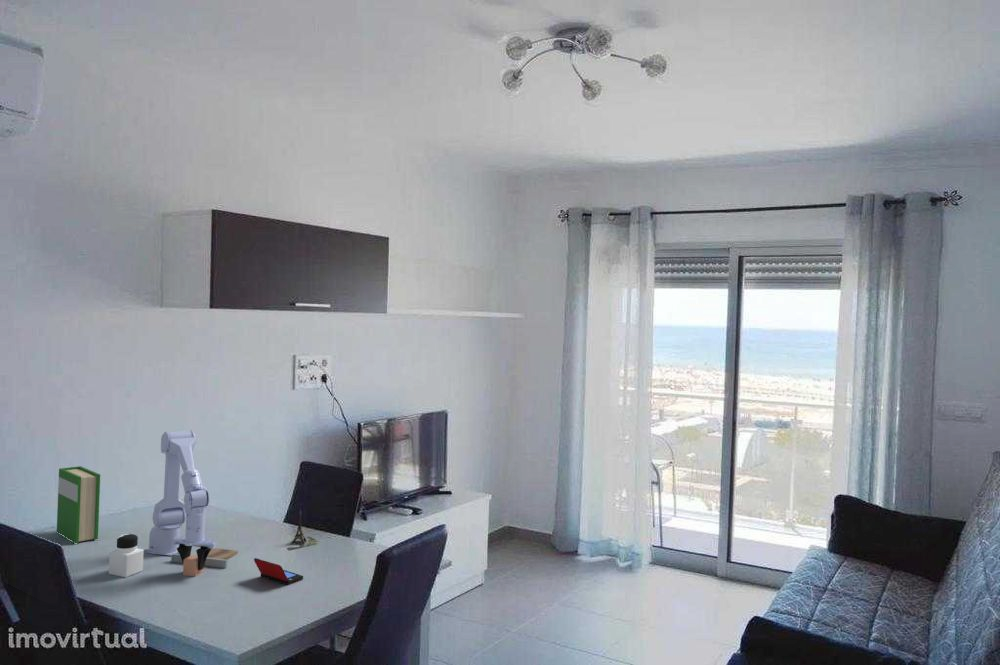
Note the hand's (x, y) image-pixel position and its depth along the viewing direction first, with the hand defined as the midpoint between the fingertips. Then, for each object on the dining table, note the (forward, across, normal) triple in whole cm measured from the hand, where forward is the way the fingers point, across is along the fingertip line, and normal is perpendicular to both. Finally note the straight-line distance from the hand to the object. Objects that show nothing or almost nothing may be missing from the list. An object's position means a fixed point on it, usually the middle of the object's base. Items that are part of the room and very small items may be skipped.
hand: (193, 568), depth 242 cm
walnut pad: (+2, -2, +17) cm, 17 cm away
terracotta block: (+2, 0, 0) cm, 2 cm away
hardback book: (+2, -60, +20) cm, 63 cm away
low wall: (+2, -3, +8) cm, 9 cm away
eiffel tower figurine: (+2, +18, +40) cm, 44 cm away
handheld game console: (+2, +28, +4) cm, 28 cm away
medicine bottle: (+2, -20, -6) cm, 21 cm away
